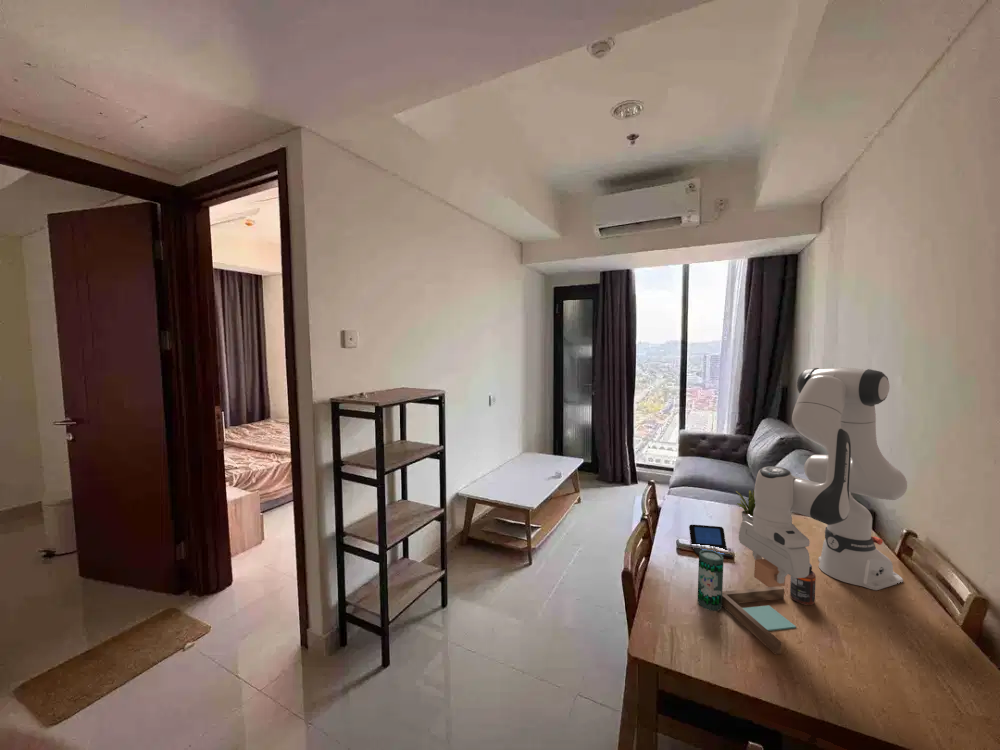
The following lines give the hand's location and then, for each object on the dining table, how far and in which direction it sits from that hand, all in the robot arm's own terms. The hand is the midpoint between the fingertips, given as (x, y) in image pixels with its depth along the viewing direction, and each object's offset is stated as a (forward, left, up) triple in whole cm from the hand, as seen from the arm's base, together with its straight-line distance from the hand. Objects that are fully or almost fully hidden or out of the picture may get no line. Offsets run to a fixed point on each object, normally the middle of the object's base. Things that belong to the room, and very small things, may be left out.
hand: (769, 575), depth 110 cm
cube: (0, 0, -2) cm, 2 cm away
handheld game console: (-10, -37, -13) cm, 41 cm away
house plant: (-39, -50, -13) cm, 65 cm away
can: (+12, -8, -13) cm, 19 cm away
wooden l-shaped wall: (-2, +2, -13) cm, 13 cm away
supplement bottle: (-17, -6, -13) cm, 22 cm away
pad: (0, 0, -13) cm, 13 cm away
